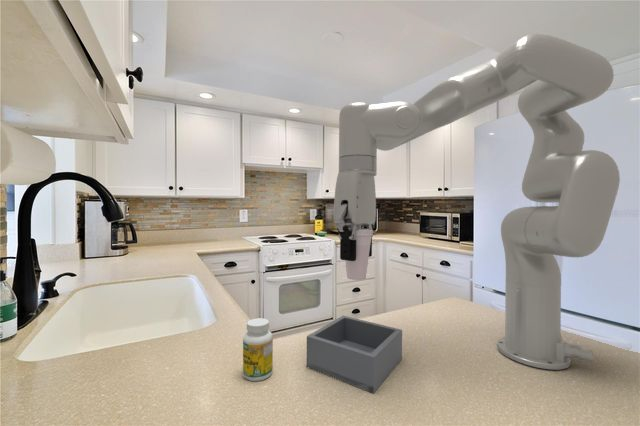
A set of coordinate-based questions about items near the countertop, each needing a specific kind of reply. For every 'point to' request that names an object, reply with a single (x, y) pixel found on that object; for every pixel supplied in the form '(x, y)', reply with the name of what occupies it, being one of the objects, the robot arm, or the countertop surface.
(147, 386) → the countertop surface
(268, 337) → the supplement bottle
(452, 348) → the countertop surface
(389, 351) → the box
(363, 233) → the smoothie
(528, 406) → the countertop surface
